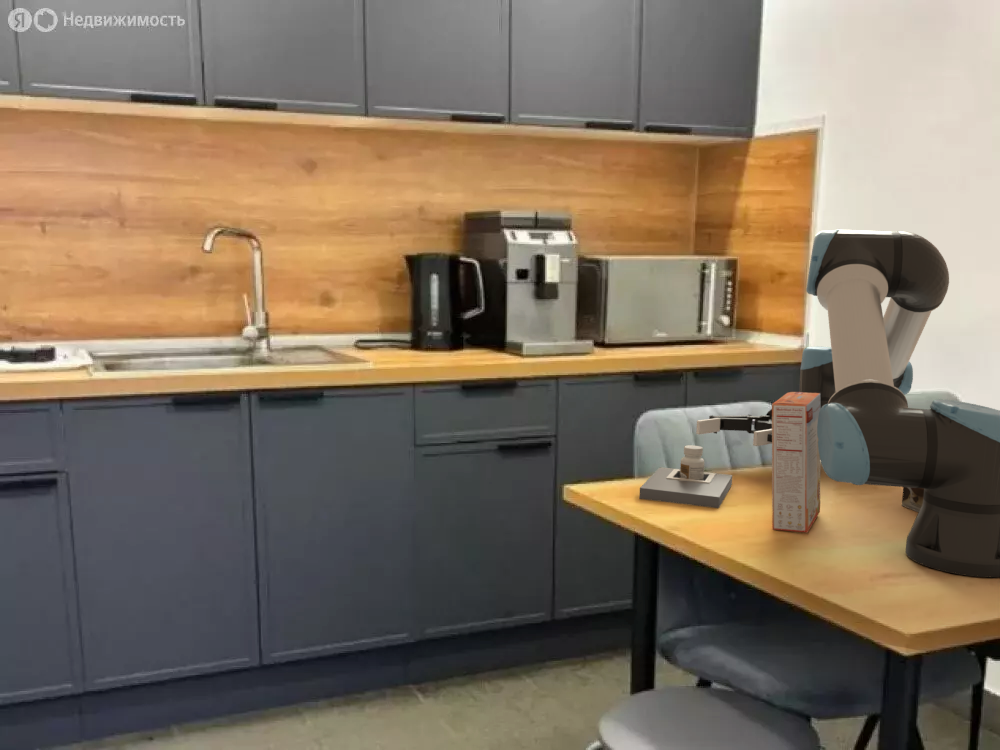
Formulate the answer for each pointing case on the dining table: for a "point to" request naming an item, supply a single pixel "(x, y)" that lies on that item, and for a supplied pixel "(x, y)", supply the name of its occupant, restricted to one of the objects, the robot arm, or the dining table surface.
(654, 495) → the socket plate
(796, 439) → the cracker box
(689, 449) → the pill bottle
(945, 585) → the dining table surface
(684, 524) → the dining table surface
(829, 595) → the dining table surface
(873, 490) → the dining table surface
